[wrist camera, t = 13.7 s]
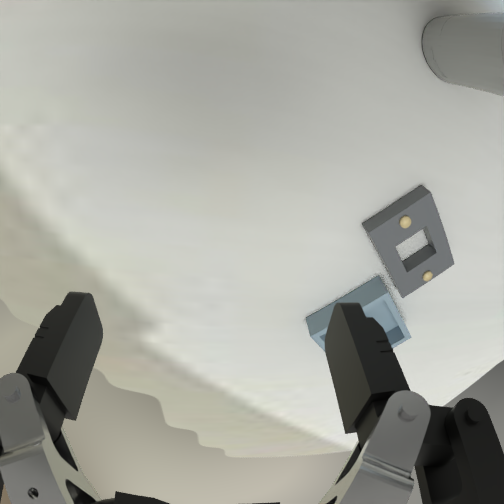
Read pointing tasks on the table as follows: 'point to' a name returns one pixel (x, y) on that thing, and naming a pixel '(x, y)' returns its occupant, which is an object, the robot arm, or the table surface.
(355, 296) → the parts tray
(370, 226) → the fuse block
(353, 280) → the table surface
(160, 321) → the table surface
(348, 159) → the table surface
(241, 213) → the table surface
